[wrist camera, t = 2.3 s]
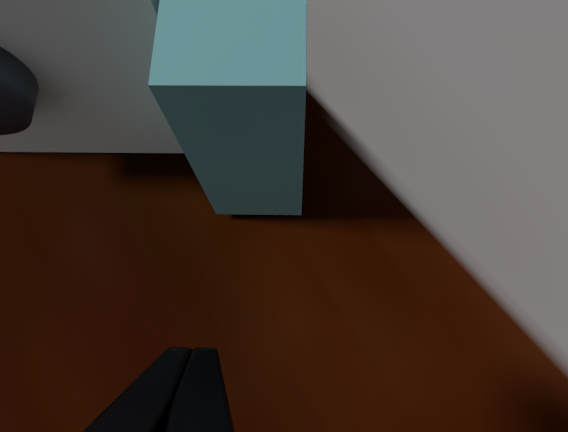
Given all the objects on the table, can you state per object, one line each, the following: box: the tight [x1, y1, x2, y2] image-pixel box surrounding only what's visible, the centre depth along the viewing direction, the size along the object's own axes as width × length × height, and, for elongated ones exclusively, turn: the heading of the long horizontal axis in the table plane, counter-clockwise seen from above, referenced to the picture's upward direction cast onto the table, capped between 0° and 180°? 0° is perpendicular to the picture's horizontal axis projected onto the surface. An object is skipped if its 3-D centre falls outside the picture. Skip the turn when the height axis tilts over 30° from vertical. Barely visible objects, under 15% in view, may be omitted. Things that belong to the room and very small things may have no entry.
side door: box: [148, 0, 307, 215], centre depth 16 cm, size 11×4×9 cm, turn 179°
